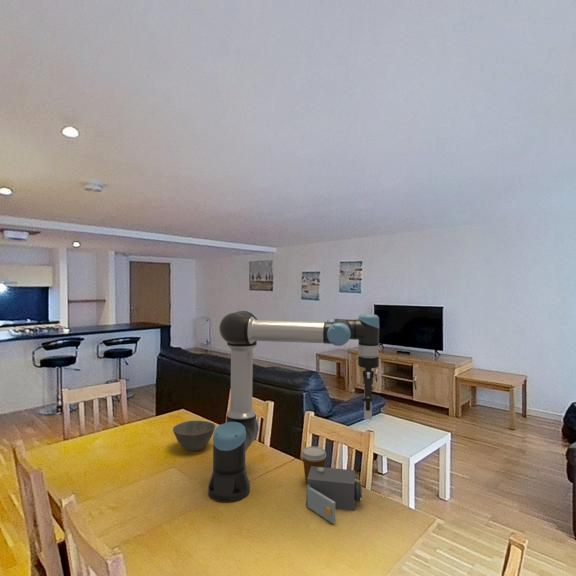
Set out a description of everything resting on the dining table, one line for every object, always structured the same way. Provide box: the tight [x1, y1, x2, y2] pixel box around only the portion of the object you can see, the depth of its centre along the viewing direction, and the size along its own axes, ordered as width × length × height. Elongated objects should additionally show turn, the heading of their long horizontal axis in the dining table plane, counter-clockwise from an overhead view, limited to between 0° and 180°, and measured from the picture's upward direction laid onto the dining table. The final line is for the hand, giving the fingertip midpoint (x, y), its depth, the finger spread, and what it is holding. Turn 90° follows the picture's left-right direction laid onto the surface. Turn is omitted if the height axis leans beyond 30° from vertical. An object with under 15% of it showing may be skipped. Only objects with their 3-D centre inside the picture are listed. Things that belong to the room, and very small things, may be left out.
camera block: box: [306, 466, 363, 512], centre depth 140 cm, size 18×10×10 cm, turn 79°
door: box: [305, 484, 336, 524], centre depth 130 cm, size 13×2×7 cm, turn 39°
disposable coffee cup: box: [301, 445, 328, 485], centre depth 152 cm, size 10×10×12 cm
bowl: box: [172, 420, 216, 452], centre depth 182 cm, size 19×19×10 cm
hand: (367, 413), depth 148 cm, fingers open, 13 cm apart
